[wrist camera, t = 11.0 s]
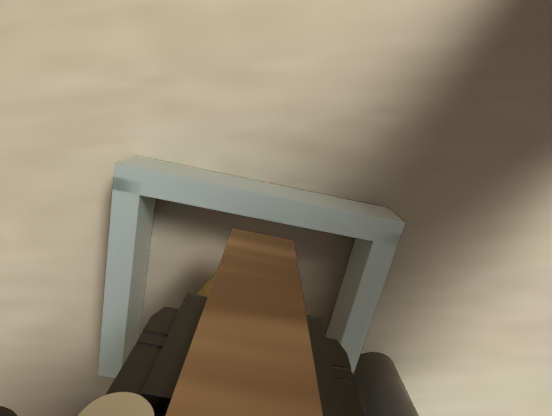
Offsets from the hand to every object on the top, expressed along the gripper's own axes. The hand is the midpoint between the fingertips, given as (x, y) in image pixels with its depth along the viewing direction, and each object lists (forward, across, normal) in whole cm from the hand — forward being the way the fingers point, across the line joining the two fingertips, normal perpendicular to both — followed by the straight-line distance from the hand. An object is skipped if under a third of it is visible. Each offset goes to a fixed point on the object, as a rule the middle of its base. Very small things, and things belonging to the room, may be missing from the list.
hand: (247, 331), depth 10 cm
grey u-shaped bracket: (+9, 0, +4) cm, 9 cm away
